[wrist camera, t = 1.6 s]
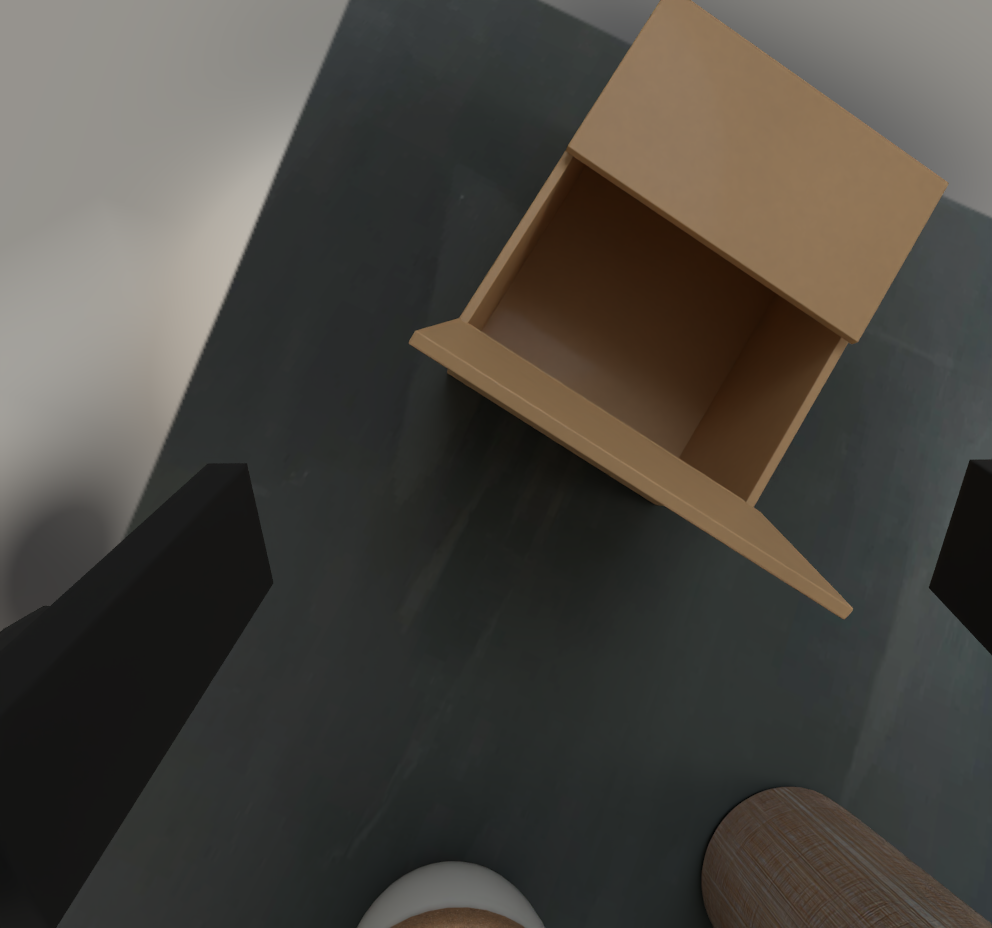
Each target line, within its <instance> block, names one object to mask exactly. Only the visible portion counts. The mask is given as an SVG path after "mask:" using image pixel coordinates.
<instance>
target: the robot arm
mask: <svg viewBox="0 0 992 928" xmlns="http://www.w3.org/2000/svg"><path fill="white" fill-rule="evenodd" d="M272 584H273V579H272V574H271V570H270V566H269V561H268V557H267V552H266V548H265V543H264V539H263V534H262V530H261V525H260V521H259V516H258V512H257V507H256V503H255V498H254V494H253V489H252V485H251V480H250V476H249V471H248V467H247V463H235V464H207V465H206V466H205V467H204V468H202V469H201V470H200V471H199V472H198V473H197V474H196V475H195V476H194V477H192V478H191V479H190V480H189V481H188V482H187V483H186V484H185V485H184V486H182V487H181V488H180V489H179V490H178V491H177V492H176V493H175V494H174V495H173V496H171V497H170V498H169V499H168V500H167V501H166V502H165V503H164V504H163V505H161V506H160V507H159V508H158V509H157V510H156V511H155V512H154V513H153V514H152V515H150V516H149V517H148V518H147V519H146V520H145V521H144V522H143V523H142V524H140V525H139V526H138V527H137V528H136V529H135V530H134V531H133V532H132V533H131V534H129V535H128V536H127V537H126V538H125V539H124V540H123V541H122V542H121V543H119V544H118V545H117V546H116V547H115V548H114V549H113V550H112V551H111V552H110V553H108V554H107V555H106V556H105V557H104V558H103V559H102V560H101V561H100V562H99V563H97V564H96V565H95V566H94V567H93V568H92V569H91V570H90V571H89V572H87V573H86V574H85V575H84V576H83V577H82V578H81V579H80V580H79V581H78V582H76V583H75V584H74V585H73V586H72V587H71V588H70V589H69V590H68V591H66V592H65V593H64V594H63V595H62V596H61V597H60V598H59V599H58V600H56V601H55V602H54V603H53V604H52V605H51V606H43V607H41V608H39V609H38V610H36V611H34V612H32V613H31V614H29V615H27V616H25V617H24V618H22V619H20V620H18V621H17V622H15V623H13V624H12V625H10V626H8V627H7V628H5V629H3V630H2V631H1V632H0V928H56V927H57V925H58V924H59V922H60V921H61V919H62V917H63V916H64V914H65V913H66V911H67V909H68V908H69V906H70V905H71V903H72V902H73V900H74V898H75V897H76V895H77V894H78V892H79V890H80V889H81V887H82V886H83V884H84V883H85V881H86V879H87V878H88V876H89V875H90V873H91V871H92V870H93V868H94V867H95V865H96V863H97V862H98V860H99V859H100V857H101V856H102V854H103V852H104V851H105V849H106V848H107V846H108V844H109V843H110V841H111V840H112V838H113V837H114V835H115V833H116V832H117V830H118V829H119V827H120V825H121V824H122V822H123V821H124V819H125V817H126V816H127V814H128V813H129V811H130V810H131V808H132V806H133V805H134V803H135V802H136V800H137V798H138V797H139V795H140V794H141V792H142V791H143V789H144V787H145V786H146V784H147V783H148V781H149V779H150V778H151V776H152V775H153V773H154V771H155V770H156V768H157V767H158V765H159V764H160V762H161V760H162V759H163V757H164V756H165V754H166V752H167V751H168V749H169V748H170V746H171V745H172V743H173V741H174V740H175V738H176V737H177V735H178V733H179V732H180V730H181V729H182V727H183V725H184V724H185V722H186V721H187V719H188V718H189V716H190V714H191V713H192V711H193V710H194V708H195V706H196V705H197V703H198V702H199V700H200V699H201V697H202V695H203V694H204V692H205V691H206V689H207V687H208V686H209V684H210V683H211V681H212V679H213V678H214V676H215V675H216V673H217V672H218V670H219V668H220V667H221V665H222V664H223V662H224V660H225V659H226V657H227V656H228V654H229V653H230V651H231V649H232V648H233V646H234V645H235V643H236V641H237V640H238V638H239V637H240V635H241V633H242V632H243V630H244V629H245V627H246V626H247V624H248V622H249V621H250V619H251V618H252V616H253V614H254V613H255V611H256V610H257V608H258V607H259V605H260V603H261V602H262V600H263V599H264V597H265V595H266V594H267V592H268V591H269V589H270V587H271V586H272ZM929 588H930V590H931V591H932V592H933V593H934V594H935V595H936V596H937V597H938V598H939V599H940V600H941V601H942V602H943V603H944V604H945V606H946V607H947V608H948V609H949V610H950V611H951V612H952V613H953V614H954V615H955V616H956V617H957V618H958V619H959V621H960V622H961V623H962V624H963V625H964V626H965V627H966V628H967V629H968V630H969V631H970V632H971V633H972V634H973V635H974V637H975V638H976V639H977V640H978V641H979V642H980V643H981V644H982V645H983V646H984V647H985V648H986V649H987V650H988V651H989V653H990V654H991V655H992V460H970V461H969V464H968V467H967V470H966V473H965V476H964V480H963V483H962V486H961V489H960V492H959V495H958V498H957V501H956V505H955V508H954V511H953V514H952V517H951V520H950V523H949V527H948V530H947V533H946V536H945V539H944V542H943V545H942V548H941V552H940V555H939V558H938V561H937V564H936V567H935V570H934V574H933V577H932V580H931V583H930V586H929Z"/></svg>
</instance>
